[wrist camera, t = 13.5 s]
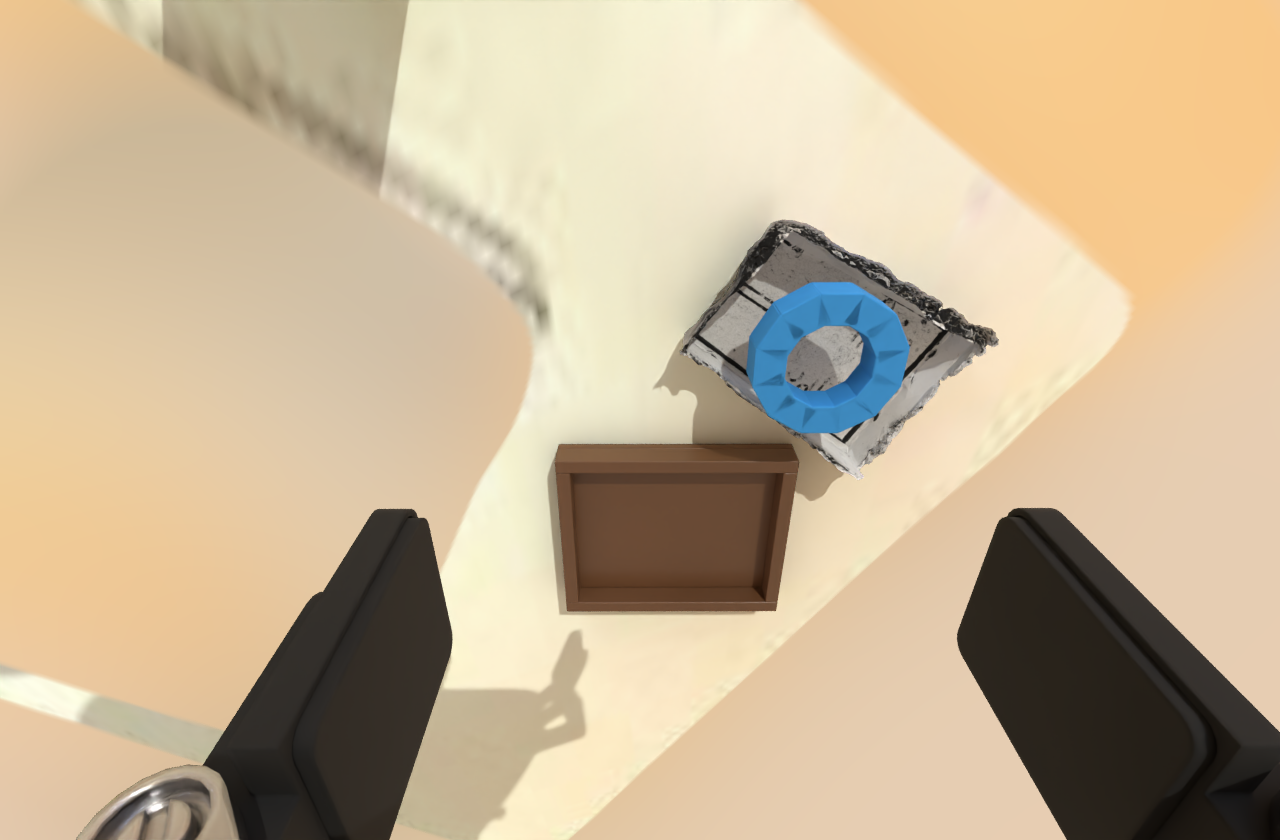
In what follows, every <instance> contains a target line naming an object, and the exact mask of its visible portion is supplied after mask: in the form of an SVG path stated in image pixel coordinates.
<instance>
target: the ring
mask: <svg viewBox="0 0 1280 840" xmlns="http://www.w3.org/2000/svg"><path fill="white" fill-rule="evenodd" d="M824 326H849V327H851V328H853V329H854V330H856V331H858V332H859V334H860V336H861V339H862V341H863V343H864V344H863V349H862V354H861V359H860V363H859V364H858V366H857V367H856V368H855V369H854V371H853V372H852V373H851V374H850V375H849V377H848V378H847V379H846V380H845V381H844V382H842V383H840V384H837V385H835V386H833V387H831V388H829V389H827V390H825V391H803V390H801V389H799V388H798V387H796V386H794V385H792V384H791V383H789V382H787V381H786V379H785V374H786V366H787V359H788V355H789V354H790V353H791V351H792V350H793V349H794V347H795V346H796V345H797V343H798V342H799V341H800V339H801V338H802V337H804V336H806V335H808V334H810V333H812V332H814V331H816V330H818V329H820V328H822V327H824ZM909 349H910V346H909V344H908V341H907V339H906V336H905V333H904V331H903V328H902V326H901V323H900V320H899V318H898V315H897V314H896V313H895V312H894V311H893V310H892V309H890V308H889V307H888V306H887V305H886V304H885V303H884V302H882V301H881V300H879V299H878V298H876V297H875V296H873V295H871V294H870V293H868V292H867V291H865V290H863V289H862V288H860V287H859V286H857V285H856V284H854V283H851V282H811V283H808V284H806V285H805V286H803V287H801V288H799V289H797V290H795V291H793V292H791V293H789V294H788V295H786V296H784V297H782V298H780V299H778V300H776V301H774V302H773V303H772V304H771V306H770V307H769V309H768V310H767V312H766V313H765V314H764V316H763V317H762V319H761V320H760V322H759V323H758V324H757V326H756V327H755V329H754V330H753V331H752V333H751V335H750V336H749V346H748V356H747V367H746V372H747V375H748V377H749V380H750V382H751V385H752V387H753V389H754V391H755V393H756V395H757V397H758V399H759V400H760V402H761V404H762V406H763V408H764V410H765V411H766V413H767V415H768V416H769V417H770V418H772V419H774V420H776V421H778V422H780V423H782V424H783V425H785V426H787V427H789V428H791V429H793V430H795V431H796V432H798V433H840V432H842V431H844V430H846V429H849V428H851V427H853V426H855V425H857V424H860V423H862V422H864V421H866V420H868V419H870V418H873V417H874V416H876V415H877V414H878V412H879V411H880V410H881V409H882V408H883V407H884V406H885V404H886V403H887V402H888V401H889V400H890V399H891V398H892V396H893V395H894V394H895V393H896V392H897V391H898V390H899V388H900V387H901V385H902V380H903V376H904V372H905V368H906V363H907V359H908V355H909V351H910V350H909Z"/></svg>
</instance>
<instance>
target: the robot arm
mask: <svg viewBox="0 0 1280 840" xmlns="http://www.w3.org/2000/svg"><path fill="white" fill-rule="evenodd" d="M957 642H958V646H959V650H960V652H961V655H962V657H963V659H964V660H965V662H966V664H967V666H968V667H969V669H970V671H971V673H972V674H973V676H974V678H975V679H976V681H977V683H978V685H979V686H980V688H981V690H982V692H983V694H984V695H985V697H986V699H987V700H988V702H989V704H990V706H991V708H992V709H993V711H994V713H995V715H996V716H997V718H998V720H999V721H1000V723H1001V725H1002V727H1003V729H1004V730H1005V732H1006V734H1007V736H1008V737H1009V739H1010V741H1011V743H1012V745H1013V746H1014V748H1015V750H1016V752H1017V753H1018V755H1019V757H1020V759H1021V760H1022V762H1023V764H1024V766H1025V767H1026V769H1027V771H1028V773H1029V774H1030V776H1031V778H1032V779H1033V781H1034V783H1035V785H1036V786H1037V788H1038V790H1039V792H1040V794H1041V795H1042V797H1043V799H1044V801H1045V802H1046V804H1047V806H1048V808H1049V809H1050V811H1051V813H1052V815H1053V816H1054V818H1055V820H1056V821H1057V823H1058V825H1059V827H1060V829H1061V830H1062V832H1063V834H1064V835H1065V837H1066V839H1067V840H1280V732H1279V731H1278V730H1277V729H1276V728H1275V727H1274V726H1273V725H1272V724H1271V723H1270V722H1269V721H1268V720H1267V719H1266V718H1265V717H1264V716H1263V715H1262V714H1261V713H1260V712H1259V711H1258V710H1257V709H1256V708H1255V707H1254V706H1253V705H1252V704H1251V703H1250V702H1249V701H1248V700H1247V699H1246V698H1245V697H1244V696H1243V695H1242V694H1241V693H1240V692H1239V691H1238V690H1237V689H1236V688H1235V687H1234V686H1233V685H1232V684H1231V683H1230V682H1229V681H1228V680H1227V679H1226V678H1225V677H1224V676H1223V675H1222V674H1221V673H1220V672H1219V671H1218V670H1217V669H1216V668H1215V667H1214V666H1213V665H1212V664H1211V663H1210V662H1209V661H1208V660H1207V659H1206V658H1205V657H1204V656H1203V655H1202V654H1201V653H1200V652H1199V651H1198V650H1197V649H1196V648H1195V647H1194V646H1193V645H1192V644H1191V643H1190V642H1189V641H1188V640H1187V639H1186V638H1185V637H1184V636H1183V635H1182V634H1181V633H1180V632H1179V631H1178V630H1177V629H1176V628H1175V627H1174V626H1173V625H1172V624H1171V623H1170V622H1169V621H1168V620H1167V619H1166V618H1165V617H1164V616H1163V615H1162V614H1161V613H1160V612H1159V611H1158V610H1157V609H1156V608H1155V607H1154V606H1153V605H1152V604H1151V603H1150V602H1149V601H1148V600H1147V598H1145V597H1144V595H1143V594H1142V593H1140V591H1138V589H1137V588H1136V587H1135V586H1134V585H1133V584H1132V583H1130V581H1128V579H1126V577H1125V576H1124V575H1123V574H1122V573H1121V572H1120V571H1118V570H1117V568H1115V566H1114V565H1113V564H1112V563H1111V562H1110V561H1109V560H1107V558H1106V557H1105V556H1104V555H1103V554H1102V553H1100V551H1099V550H1098V549H1097V548H1096V547H1095V546H1094V545H1093V544H1092V543H1091V542H1090V541H1089V540H1088V539H1087V538H1086V537H1085V536H1084V535H1083V534H1082V533H1081V532H1080V531H1079V530H1078V529H1077V528H1076V527H1075V526H1074V525H1073V524H1072V523H1071V522H1070V521H1069V520H1068V519H1067V518H1066V517H1065V516H1064V515H1063V514H1062V513H1060V512H1059V511H1057V510H1056V509H1052V508H1017V509H1013V510H1012V511H1011V512H1009V514H1008V516H1007V517H1004V518H1002V519H1001V520H999V522H998V524H997V527H996V529H995V532H994V535H993V538H992V540H991V543H990V545H989V548H988V551H987V554H986V557H985V559H984V562H983V565H982V567H981V570H980V573H979V575H978V578H977V581H976V584H975V586H974V589H973V592H972V594H971V597H970V600H969V603H968V605H967V608H966V611H965V613H964V616H963V619H962V622H961V624H960V627H959V630H958V634H957ZM451 649H452V630H451V625H450V621H449V616H448V611H447V607H446V602H445V598H444V593H443V588H442V584H441V579H440V574H439V570H438V565H437V561H436V556H435V551H434V547H433V542H432V537H431V533H430V528H429V524H428V521H427V520H426V519H425V518H418V517H417V514H416V512H415V511H414V510H412V509H377V510H375V511H374V512H373V513H372V514H371V516H370V517H369V519H368V521H367V522H366V524H365V525H364V527H363V529H362V530H361V532H360V534H359V535H358V537H357V538H356V540H355V541H354V543H353V545H352V546H351V548H350V549H349V551H348V553H347V554H346V556H345V557H344V559H343V561H342V562H341V564H340V565H339V567H338V569H337V570H336V572H335V574H334V575H333V577H332V578H331V580H330V581H329V583H328V585H327V586H326V588H325V590H324V591H323V592H319V593H317V594H316V595H314V596H313V597H312V598H311V599H310V600H309V602H308V603H307V604H306V605H305V607H304V608H303V610H302V612H301V613H300V615H299V616H298V618H297V619H296V621H295V622H294V624H293V626H292V627H291V629H290V630H289V632H288V633H287V635H286V637H285V638H284V640H283V641H282V643H281V644H280V646H279V647H278V649H277V650H276V652H275V654H274V655H273V657H272V658H271V660H270V661H269V663H268V664H267V666H266V668H265V669H264V671H263V672H262V674H261V676H260V677H259V678H258V680H257V682H256V683H255V685H254V686H253V688H252V689H251V691H250V693H249V694H248V696H247V697H246V699H245V700H244V702H243V703H242V705H241V706H240V708H239V710H238V711H237V713H236V715H235V716H234V717H233V719H232V721H231V722H230V724H229V725H228V727H227V728H226V730H225V731H224V733H223V735H222V736H221V738H220V739H219V741H218V742H217V744H216V745H215V747H214V749H213V750H212V752H211V753H210V755H209V756H208V758H207V759H206V761H205V763H204V764H203V766H198V765H184V766H180V767H174V768H169V769H165V770H163V771H161V772H158V773H156V774H154V775H151V776H149V777H146V778H144V779H142V780H141V781H139V782H137V783H136V784H134V785H133V786H131V787H130V788H128V789H127V790H125V791H123V792H122V793H120V794H119V795H118V796H116V797H115V798H114V799H113V800H112V801H111V802H109V803H108V804H107V805H106V806H105V807H104V808H103V809H101V810H100V811H99V812H98V813H97V814H96V815H95V816H94V817H93V818H92V820H91V821H90V822H89V823H88V825H87V826H86V827H85V828H84V830H83V831H82V832H81V833H80V834H79V835H78V837H77V839H76V840H389V839H390V836H391V833H392V830H393V827H394V824H395V821H396V818H397V815H398V812H399V809H400V806H401V803H402V800H403V797H404V794H405V791H406V788H407V785H408V782H409V779H410V776H411V773H412V770H413V767H414V763H415V760H416V757H417V754H418V751H419V748H420V745H421V742H422V739H423V736H424V733H425V730H426V727H427V724H428V721H429V718H430V715H431V712H432V709H433V706H434V703H435V700H436V697H437V694H438V691H439V688H440V685H441V682H442V679H443V676H444V673H445V670H446V667H447V664H448V661H449V658H450V654H451Z"/></svg>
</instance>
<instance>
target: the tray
mask: <svg viewBox="0 0 1280 840" xmlns="http://www.w3.org/2000/svg"><path fill="white" fill-rule="evenodd" d="M798 466H799V460H798V458H797V456H796V453H795V451H794V449H793V446H792V444H559V446H558V451H557V455H556V460H555V469H556V481H557V493H558V505H559V518H560V530H561V542H562V555H563V567H564V579H565V591H566V604H567V611H776V608H777V601H778V594H779V588H780V582H781V575H782V569H783V562H784V556H785V549H786V543H787V536H788V530H789V523H790V517H791V511H792V504H793V498H794V491H795V485H796V478H797V472H798Z"/></svg>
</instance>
